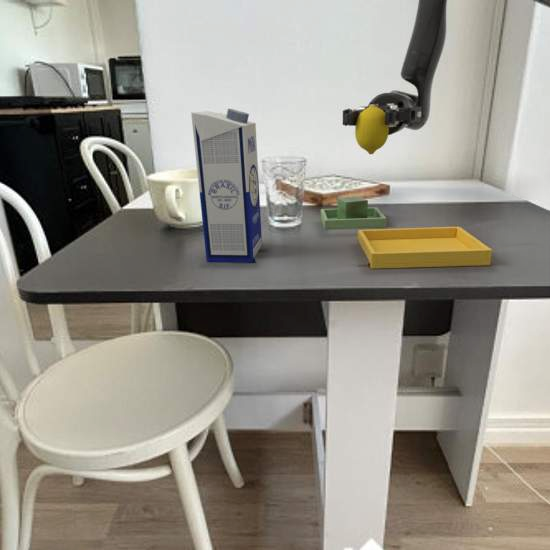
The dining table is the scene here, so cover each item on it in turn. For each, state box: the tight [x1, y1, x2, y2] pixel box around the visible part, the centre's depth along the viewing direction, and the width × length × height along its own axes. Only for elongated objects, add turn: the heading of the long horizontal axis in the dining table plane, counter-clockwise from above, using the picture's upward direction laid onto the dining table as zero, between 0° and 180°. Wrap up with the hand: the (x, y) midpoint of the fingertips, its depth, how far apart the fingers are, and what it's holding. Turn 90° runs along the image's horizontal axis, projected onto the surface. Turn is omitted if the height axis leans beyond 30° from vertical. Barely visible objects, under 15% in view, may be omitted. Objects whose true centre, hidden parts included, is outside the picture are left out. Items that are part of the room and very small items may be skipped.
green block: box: [336, 195, 369, 219], centre depth 76 cm, size 4×4×4 cm
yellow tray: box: [357, 226, 493, 270], centre depth 61 cm, size 15×11×2 cm
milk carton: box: [190, 108, 263, 263], centre depth 61 cm, size 7×7×20 cm
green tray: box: [320, 206, 387, 230], centre depth 76 cm, size 10×8×2 cm
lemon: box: [354, 105, 389, 155], centre depth 74 cm, size 6×6×8 cm
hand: (368, 118), depth 71 cm, fingers closed on lemon, 5 cm apart
